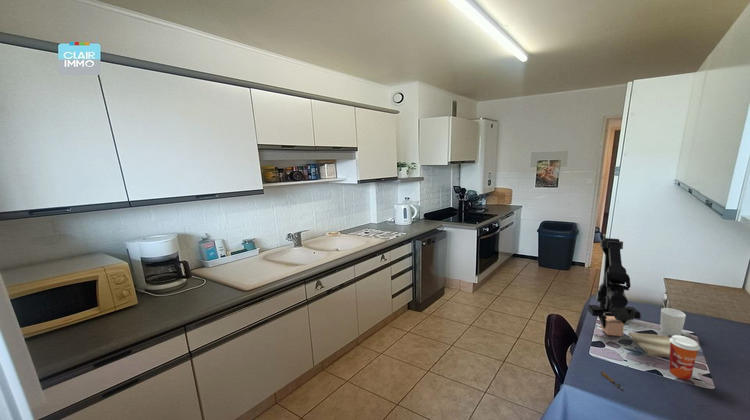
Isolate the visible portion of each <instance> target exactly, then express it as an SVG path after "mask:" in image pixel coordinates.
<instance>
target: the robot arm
mask: <svg viewBox="0 0 750 420" xmlns="http://www.w3.org/2000/svg"><path fill="white" fill-rule="evenodd" d="M599 245H600V247H601V250H602V252H603V253H604V267H603V282H602V283H601V284H600V285H599V287H598V290H597V291H596V295H595V298H596V299H595V300H596V302H598V303H599V305H597V304H589V305H587V308H586V309H587V311H588V313H590V314H591V316H593V317H598V319H599V321H600V325H601V324H602V326H603V328H605V323H606V318H607V317H606V316H614V317H615V319H616V320H618V321H622V322H623V323H624V325H626V323H627V322H629V321H632V320H634V319H636V320H640V319H642V318H641V317H642V314H641V312H640V311H639V310H637V309H636V308H635V307H634V306H628V303H629V301H628V298H627V296H626V294H625V291H630V288H631V278H630V275H629V274H627V269H626V268H625V267H624V266H623V263H622V255H621V250H624V241H622V240H621V241H620V239H619V238H610V237H604V238H603V239H601V240H600V243H599Z"/></svg>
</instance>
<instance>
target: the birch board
mask: <svg viewBox="0 0 750 420" xmlns="http://www.w3.org/2000/svg"><path fill="white" fill-rule="evenodd" d="M628 336H629V337H630V338H631V339H632V340H633V341H634V343H636V344H637V345H638V346H639V347H640V348H641V349H642V350H643V351H644V352H645V353H646V354H647V355H648V356H650V357H651V356H652V357H663V358H664V357H666V358H670V343H671V342H670V337H668V336H667V334H665V335H664V334H652V333H650V334H649V333H638V332H637V333H636V332H629V333H628Z"/></svg>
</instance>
